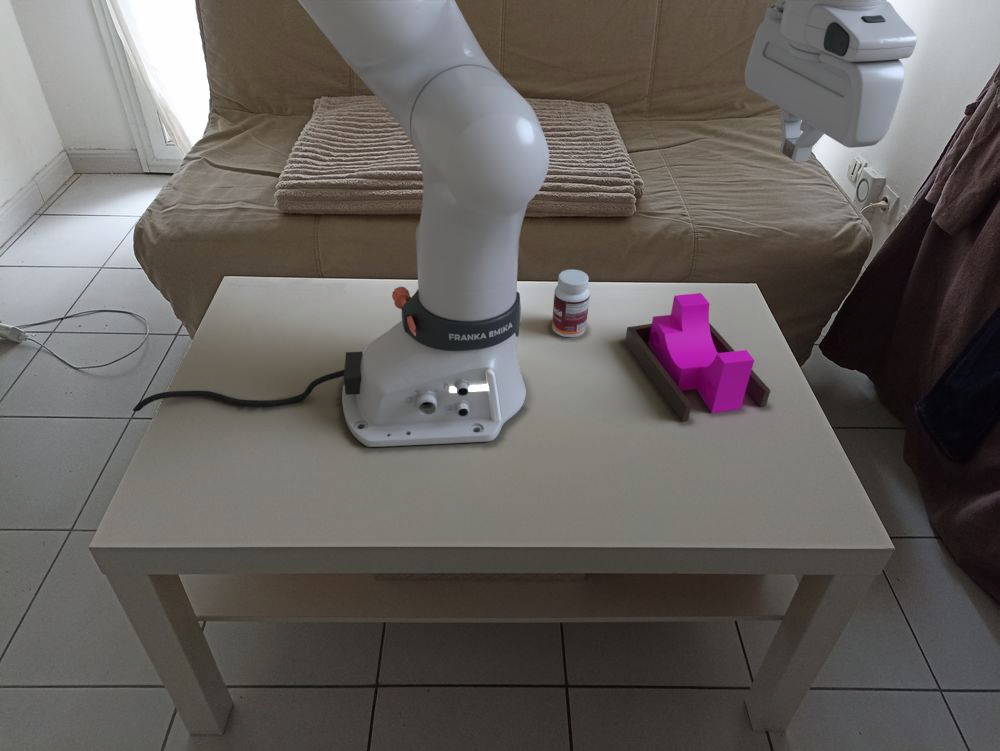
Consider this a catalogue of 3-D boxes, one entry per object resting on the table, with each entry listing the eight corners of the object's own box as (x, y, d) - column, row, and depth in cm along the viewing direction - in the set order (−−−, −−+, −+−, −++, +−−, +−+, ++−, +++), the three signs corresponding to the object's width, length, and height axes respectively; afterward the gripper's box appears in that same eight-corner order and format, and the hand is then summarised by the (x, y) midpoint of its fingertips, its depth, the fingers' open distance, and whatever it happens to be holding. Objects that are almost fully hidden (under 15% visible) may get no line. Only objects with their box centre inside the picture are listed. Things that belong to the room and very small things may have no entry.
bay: (682, 422, 90) (686, 405, 88) (624, 342, 103) (627, 327, 101) (766, 406, 92) (771, 390, 91) (699, 330, 105) (702, 315, 104)
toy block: (648, 344, 102) (656, 297, 98) (691, 339, 103) (701, 292, 99) (692, 415, 91) (704, 365, 86) (740, 409, 92) (754, 360, 87)
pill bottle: (548, 320, 106) (552, 268, 101) (581, 318, 107) (586, 266, 102) (555, 339, 103) (560, 287, 98) (589, 337, 103) (595, 284, 98)
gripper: (745, -5, 79) (719, 126, 88) (869, 47, 63) (823, 199, 72) (798, -7, 80) (767, 122, 89) (931, 43, 65) (879, 193, 73)
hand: (793, 157), depth 80 cm, fingers closed
